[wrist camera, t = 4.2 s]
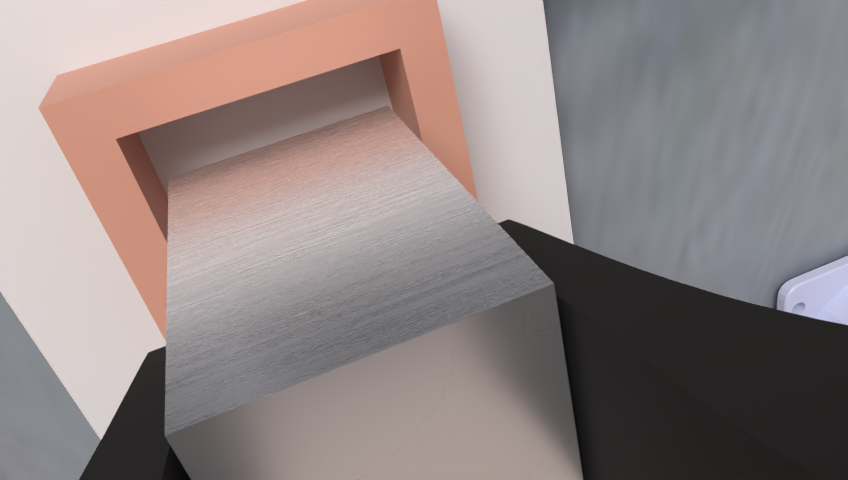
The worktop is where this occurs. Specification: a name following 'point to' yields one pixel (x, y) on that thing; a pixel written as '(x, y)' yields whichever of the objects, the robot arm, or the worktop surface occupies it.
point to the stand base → (232, 137)
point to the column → (357, 320)
